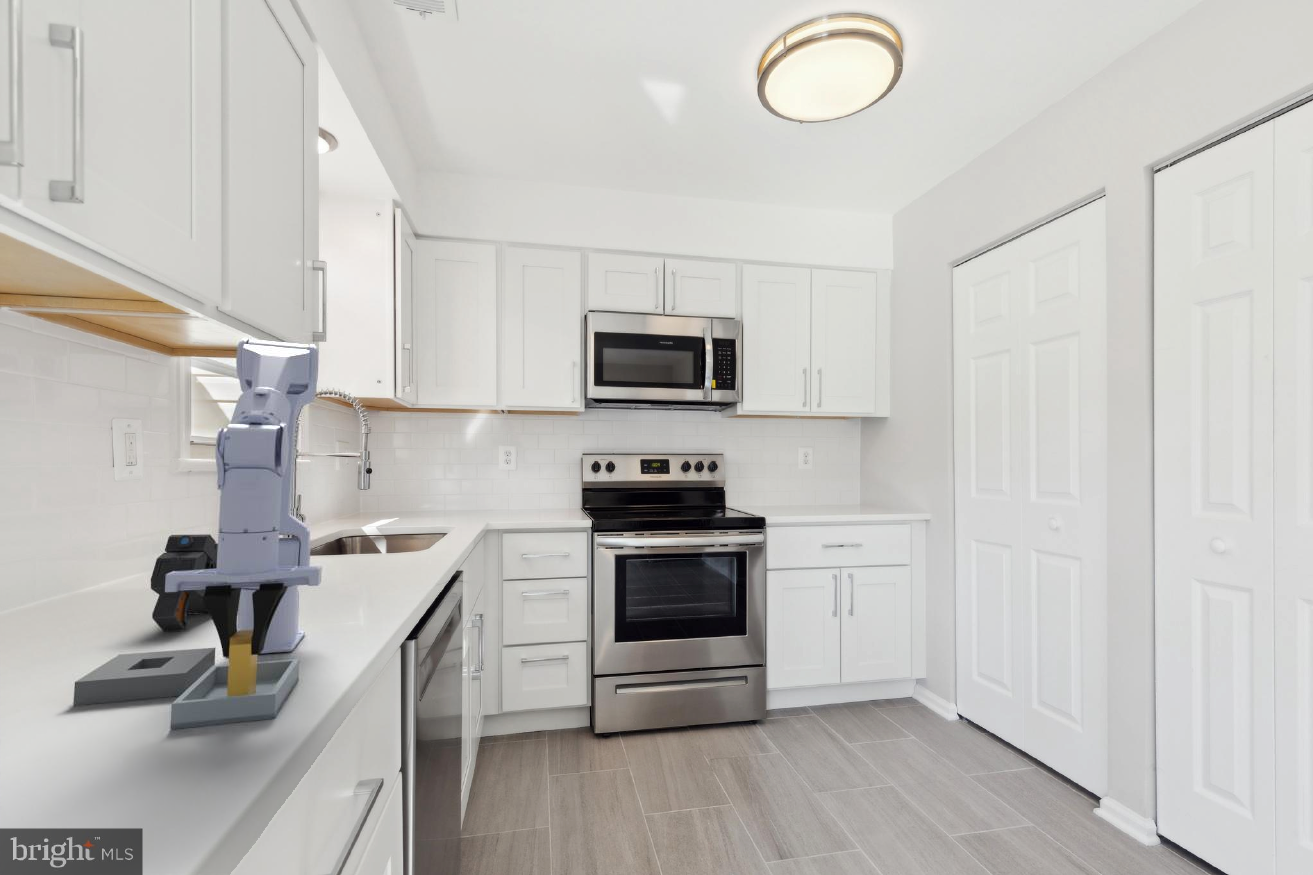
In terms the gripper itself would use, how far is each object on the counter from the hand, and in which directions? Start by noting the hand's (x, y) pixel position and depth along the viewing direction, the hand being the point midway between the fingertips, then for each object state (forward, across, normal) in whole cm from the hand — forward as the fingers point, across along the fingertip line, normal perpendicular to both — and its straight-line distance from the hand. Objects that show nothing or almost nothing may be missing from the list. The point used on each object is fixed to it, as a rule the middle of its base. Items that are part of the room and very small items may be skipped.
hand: (243, 653), depth 68 cm
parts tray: (+5, 0, 0) cm, 5 cm away
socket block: (+5, -12, +9) cm, 16 cm away
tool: (+6, -18, +42) cm, 46 cm away
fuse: (+5, 0, 0) cm, 5 cm away
